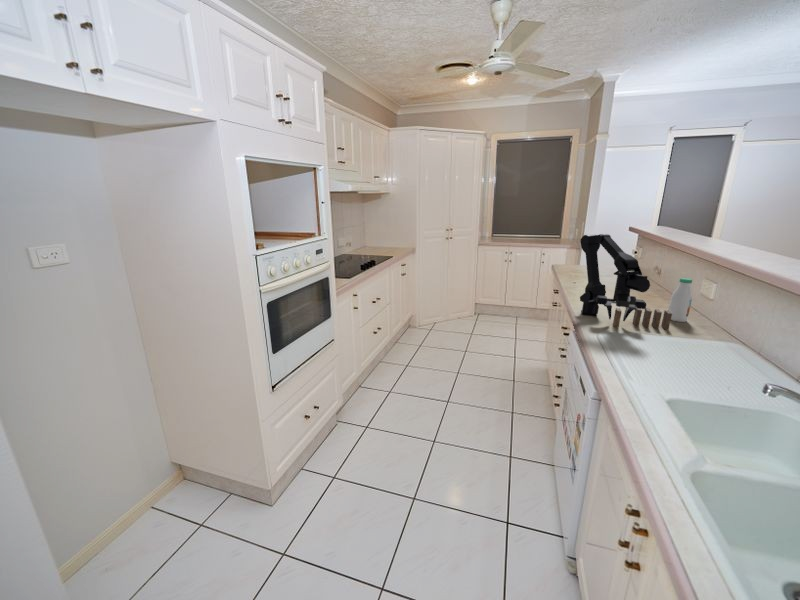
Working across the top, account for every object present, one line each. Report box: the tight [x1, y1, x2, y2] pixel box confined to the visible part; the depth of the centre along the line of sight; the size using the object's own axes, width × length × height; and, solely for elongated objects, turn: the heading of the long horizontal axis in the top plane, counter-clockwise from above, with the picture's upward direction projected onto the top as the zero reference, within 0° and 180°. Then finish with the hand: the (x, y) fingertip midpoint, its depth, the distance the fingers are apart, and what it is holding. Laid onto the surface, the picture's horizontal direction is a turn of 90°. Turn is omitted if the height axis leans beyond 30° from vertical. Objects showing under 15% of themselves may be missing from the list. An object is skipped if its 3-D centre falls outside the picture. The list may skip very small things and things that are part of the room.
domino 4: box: [651, 308, 663, 329], centre depth 158 cm, size 2×5×8 cm, turn 157°
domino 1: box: [612, 307, 623, 328], centre depth 159 cm, size 2×5×8 cm, turn 157°
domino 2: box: [632, 307, 643, 327], centre depth 161 cm, size 2×5×8 cm, turn 156°
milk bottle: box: [668, 277, 693, 323], centre depth 166 cm, size 8×8×20 cm
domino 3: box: [641, 307, 653, 328], centre depth 159 cm, size 2×5×8 cm, turn 156°
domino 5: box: [660, 309, 672, 331], centre depth 156 cm, size 2×5×8 cm, turn 157°
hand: (616, 320), depth 159 cm, fingers open, 5 cm apart
